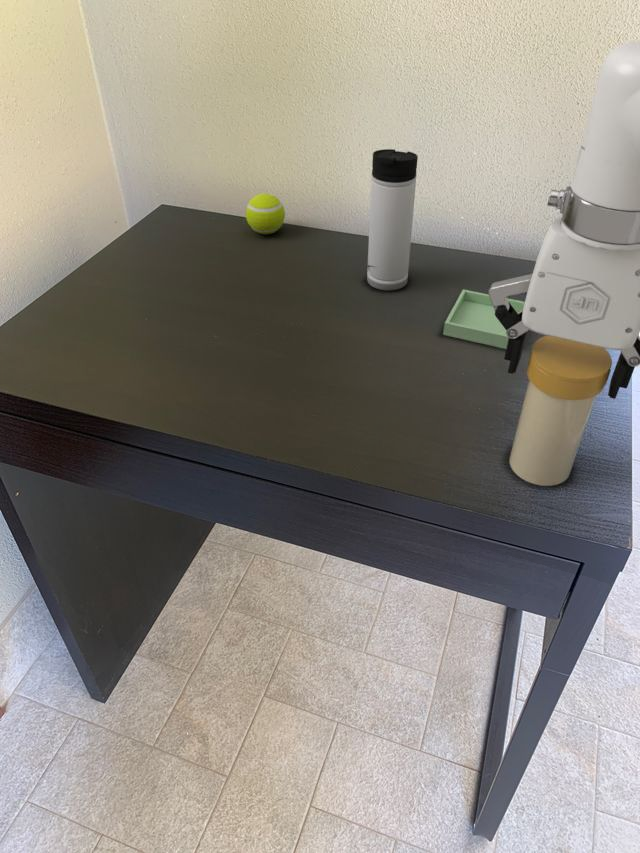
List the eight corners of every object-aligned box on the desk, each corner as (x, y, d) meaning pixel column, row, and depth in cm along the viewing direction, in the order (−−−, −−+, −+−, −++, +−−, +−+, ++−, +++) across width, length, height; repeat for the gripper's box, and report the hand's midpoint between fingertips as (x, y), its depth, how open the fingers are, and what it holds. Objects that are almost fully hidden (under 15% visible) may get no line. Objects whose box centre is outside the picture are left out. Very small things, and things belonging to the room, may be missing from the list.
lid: (609, 364, 69) (616, 343, 67) (600, 408, 64) (608, 386, 62) (534, 348, 71) (539, 327, 70) (519, 388, 66) (524, 367, 64)
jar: (574, 453, 77) (609, 349, 67) (565, 493, 72) (601, 387, 63) (515, 438, 79) (541, 335, 69) (503, 475, 74) (529, 370, 65)
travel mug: (360, 287, 105) (365, 155, 91) (374, 268, 109) (381, 139, 96) (399, 295, 103) (409, 162, 90) (412, 275, 107) (424, 145, 94)
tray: (527, 314, 99) (530, 302, 97) (513, 350, 92) (516, 338, 91) (461, 301, 102) (462, 289, 100) (442, 335, 95) (444, 322, 94)
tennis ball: (291, 236, 118) (290, 199, 113) (254, 244, 116) (252, 206, 111) (277, 221, 122) (275, 184, 118) (242, 228, 120) (238, 191, 116)
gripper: (497, 213, 56) (467, 377, 68) (726, 253, 51) (652, 424, 63) (516, 180, 62) (485, 338, 73) (725, 214, 56) (657, 378, 68)
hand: (562, 377), depth 68 cm, fingers open, 9 cm apart
